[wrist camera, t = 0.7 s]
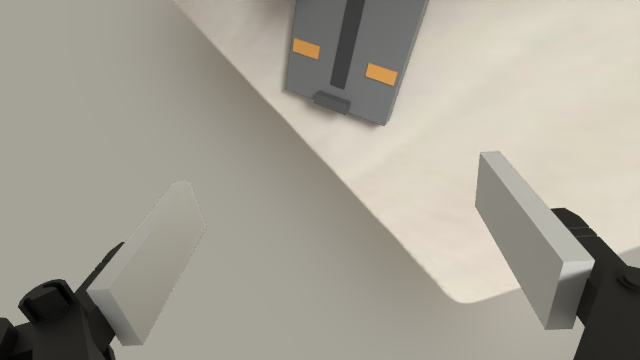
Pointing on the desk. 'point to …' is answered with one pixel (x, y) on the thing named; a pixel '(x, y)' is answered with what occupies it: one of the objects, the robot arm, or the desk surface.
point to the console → (353, 53)
